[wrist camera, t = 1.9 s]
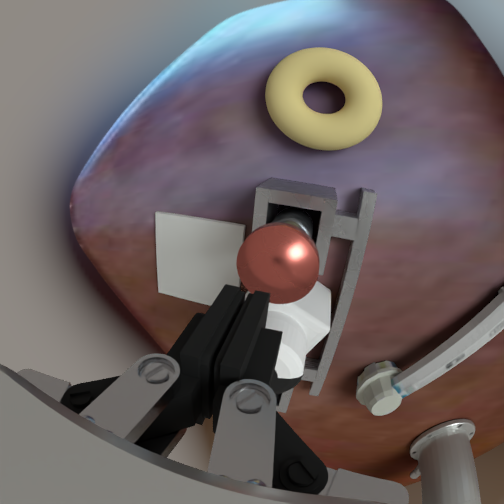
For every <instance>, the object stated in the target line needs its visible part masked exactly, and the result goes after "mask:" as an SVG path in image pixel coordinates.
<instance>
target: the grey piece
mask: <svg viewBox="0 0 504 504" xmlns="http://www.w3.org/2000/svg"><path fill="white" fill-rule="evenodd" d="M503 329H504V287H502V288H501V289H500V290H499V291H498V295H497V296H496V297H495V298H494V299H493V300H492V301H491V302H490V303H489V304H488V305H487V306H486V307H485V308H484V309H483V310H482V311H480V312H479V313H478V314H477V315H476V316H475V317H474V318H473V319H472V320H470V321H469V322H468V323H467V324H466V325H465V326H463V327H462V328H461V329H460V330H459V331H457V332H456V333H455V334H454V335H453V336H451V337H450V338H449V339H448V340H446V341H445V342H444V343H442V344H441V345H440V346H438V347H437V348H436V349H435V350H433V351H432V352H430V353H429V354H428V355H426V356H425V357H424V358H422V359H421V360H419V361H418V362H417V363H415V364H414V365H412V366H411V367H409V368H408V369H406V370H405V371H403V372H402V370H401V369H400V368H398V367H397V366H396V364H395V363H394V362H390V361H386V360H385V361H384V362H380V363H376V364H375V362H374V363H372V364H371V365H369V366H367V367H366V368H364V369H365V370H364V372H363V373H362V374H361V375H360V376H358V379H357V391H356V398H357V400H358V401H359V402H360V403H361V404H363V405H366V406H367V408H368V410H369V411H370V412H371V413H372V414H374V415H379V416H381V415H385V414H388V413H390V412H392V411H394V410H395V409H396V408H397V407H398V406H399V405H400V403H401V400H402V398H404V397H405V396H407V395H409V394H411V393H413V392H414V391H416V390H418V389H420V388H421V387H423V386H425V385H426V384H428V383H430V382H431V381H433V380H434V379H436V378H438V377H439V376H441V375H442V374H444V373H445V372H447V371H448V370H450V369H451V368H453V367H454V366H456V365H457V364H459V363H460V362H462V361H463V360H464V359H466V358H467V357H469V356H470V355H471V354H473V353H474V352H475V351H477V350H478V349H479V348H481V347H482V346H483V345H484V344H486V343H487V342H488V341H490V340H491V339H492V338H493V337H494V336H496V335H497V334H498V333H499V332H500V331H502V330H503Z"/></svg>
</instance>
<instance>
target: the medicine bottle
mask: <svg viewBox="0 0 504 504" xmlns="http://www.w3.org/2000/svg"><path fill="white" fill-rule="evenodd" d="M249 293H250V292H249V291H247V293H246V294H245V300H246V298H247V296H248V294H249ZM330 325H331V290H330V289H328V288H327V287H325V286H324V285H322V284H321V283H319V282H318V281H316V283H315V285H314V287H313V289H312V290H311V291H310V292H309V293H308V294H307V295H306V296H305V297H303V298H302V299H300V300H298V301H295V302H292V303H288V304H273V303H269V307H268V314H267V321H266V327H265V328H268V329H273V330H278V331H283V334H282V339H281V344H280V349H279V353H278V358H277V362H276V366H275V370H274V374H273V377H272V381H271V385H270V388H272V390H273V391H274V393H275V394H280V393H283V392H286V391H288V390H290V389H292V388H294V387H295V386H296V385H297V384H298V383H299V382H300V380H301V378H302V376H303V371H304V364H305V358H306V354H307V353H308V352H309V351H310V350H311V349H312V348H313V347H314V346H315V345H316V344H317V343H319V342H320V341H321V340H322V339H323V338H324V337H325V336H326V335H327V334H328V333H329V331H330Z"/></svg>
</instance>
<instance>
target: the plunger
mask: <svg viewBox="0 0 504 504" xmlns="http://www.w3.org/2000/svg"><path fill="white" fill-rule="evenodd" d="M312 234H313V222H312V219H311V217H310V216H309V214H308V213H307V212H305V211H304V210H302V209H300V208H296V207H290V208H286V209H284V210H282V211H281V212H279V213H278V215H277V216H276V217H275V219H274V220H273V222H272V223H268V224H265V225H262V226H260V227H258V228H257V229H255V230H254V231H253V232H252V233H251V234H250V235H249V236H248V237H247V238H246V240H245V241H244V242H243V244H242V245H241V247H240V249H239V251H238V255H237V262H236V265H237V272H238V275H239V278H240V280H241V282H242V283H243V285H244V286H245V288H246V289H247V290H248V291H249V292H250V293H252V294H254V292H255V290H257V291H262V292H267V293H270V301H269V303H273V304H288V303H292V302H295V301H298V300H300V299H302V298H303V297H305V296H306V295H307V294H308V293H309V292H310V291H311V290H312V289H313V287H314V285H315V283H316V281H317V278H318V274H319V264H320V259H319V253H318V249H317V247H316V245H315V243H314V241H313V240H312Z"/></svg>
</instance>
